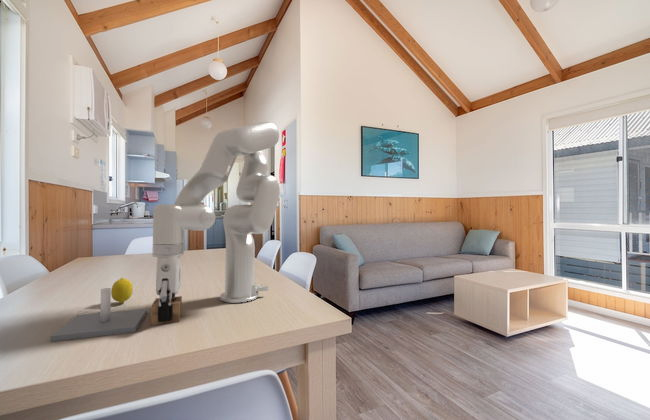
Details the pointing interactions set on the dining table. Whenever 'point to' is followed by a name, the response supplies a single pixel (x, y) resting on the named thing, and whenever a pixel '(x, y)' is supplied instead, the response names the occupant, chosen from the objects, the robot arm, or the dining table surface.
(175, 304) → the brown wooden hollow block
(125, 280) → the lemon
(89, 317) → the grey peg board
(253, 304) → the dining table surface
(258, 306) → the dining table surface
